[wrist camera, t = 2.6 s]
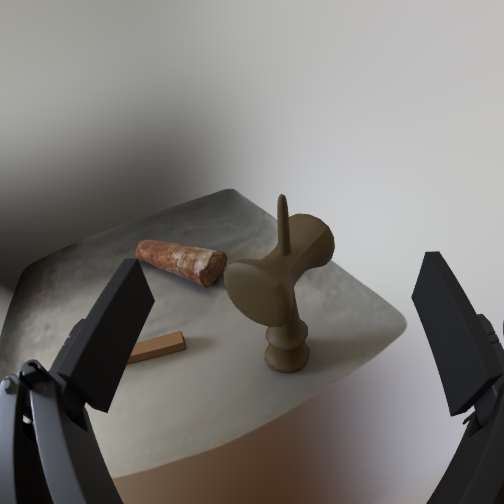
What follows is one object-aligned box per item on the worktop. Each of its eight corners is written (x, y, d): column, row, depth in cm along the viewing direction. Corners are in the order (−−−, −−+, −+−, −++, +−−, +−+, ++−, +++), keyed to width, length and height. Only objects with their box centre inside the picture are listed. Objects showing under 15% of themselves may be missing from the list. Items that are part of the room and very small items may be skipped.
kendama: (242, 375, 30) (205, 214, 19) (286, 321, 36) (280, 169, 25) (287, 399, 27) (284, 235, 15) (327, 338, 33) (343, 180, 22)
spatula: (181, 328, 36) (178, 322, 36) (188, 358, 32) (185, 351, 32) (70, 356, 32) (65, 351, 32) (67, 385, 28) (62, 380, 27)
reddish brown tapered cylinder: (209, 297, 41) (201, 267, 38) (134, 264, 50) (124, 239, 47) (233, 273, 45) (228, 243, 42) (157, 246, 55) (149, 222, 51)
